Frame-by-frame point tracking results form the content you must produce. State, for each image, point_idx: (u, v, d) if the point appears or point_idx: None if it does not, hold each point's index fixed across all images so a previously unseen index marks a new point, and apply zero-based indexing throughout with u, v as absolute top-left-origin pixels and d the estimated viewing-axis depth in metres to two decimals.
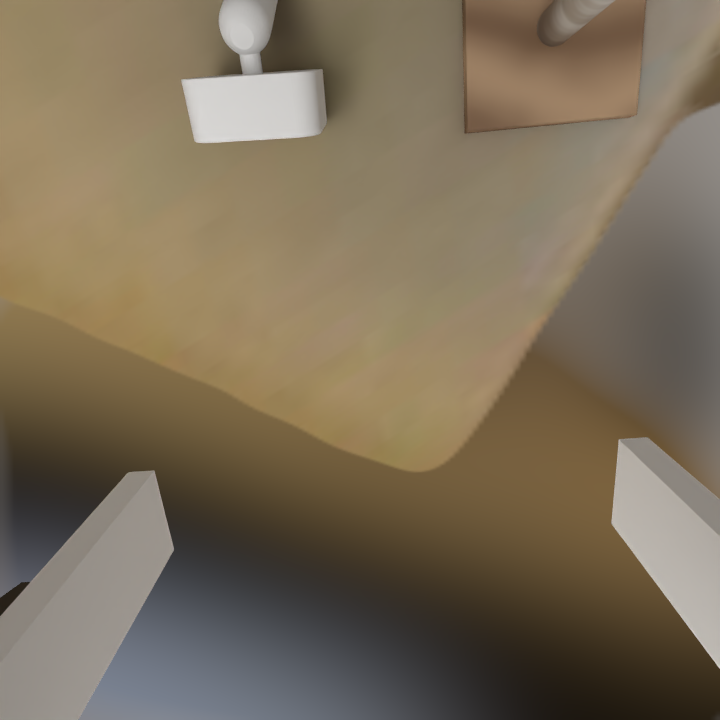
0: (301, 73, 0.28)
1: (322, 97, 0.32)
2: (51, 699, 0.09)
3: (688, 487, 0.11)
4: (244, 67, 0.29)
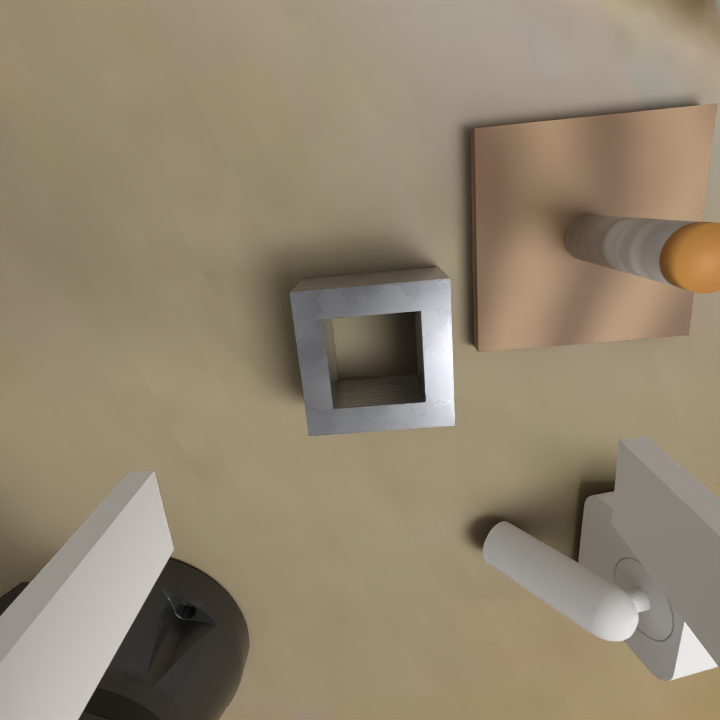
0: None
1: None
2: (51, 699, 0.09)
3: (688, 487, 0.11)
4: (642, 611, 0.27)
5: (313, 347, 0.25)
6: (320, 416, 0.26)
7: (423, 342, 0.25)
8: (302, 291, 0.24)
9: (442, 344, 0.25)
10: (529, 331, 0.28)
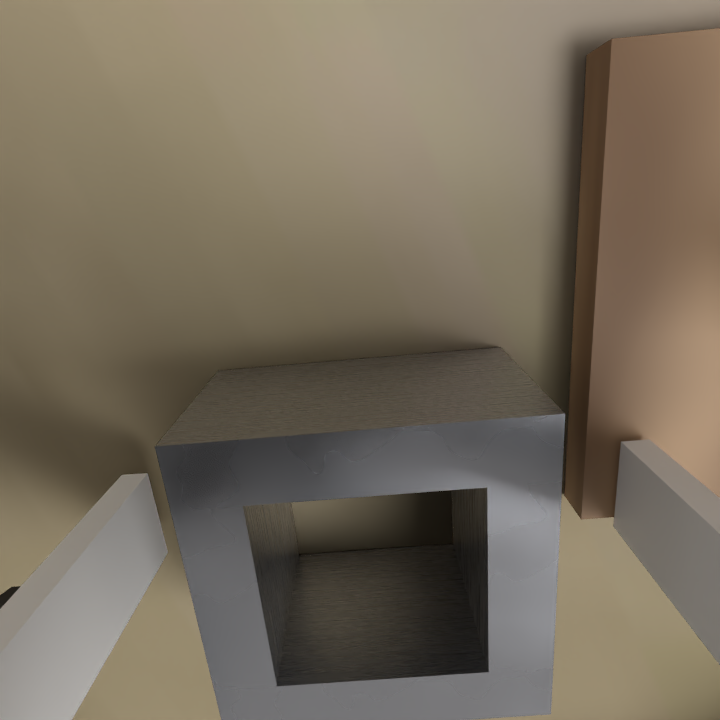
0: None
1: None
2: (40, 705, 0.09)
3: (692, 490, 0.11)
4: None
5: (222, 566, 0.10)
6: (249, 701, 0.12)
7: (490, 555, 0.10)
8: (188, 443, 0.10)
9: (535, 558, 0.10)
10: None
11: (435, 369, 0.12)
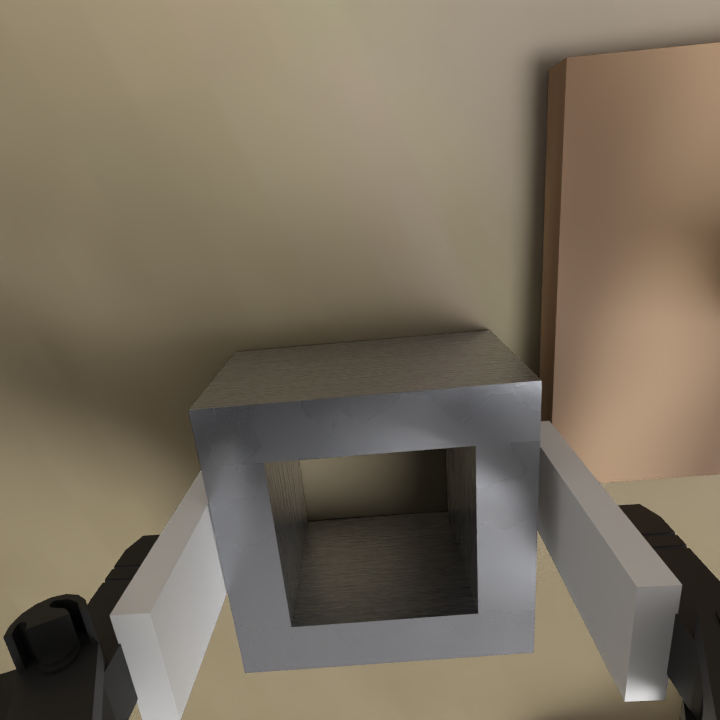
0: None
1: None
2: (189, 631, 0.10)
3: (567, 462, 0.12)
4: None
5: (245, 517, 0.12)
6: (267, 640, 0.13)
7: (478, 506, 0.12)
8: (217, 407, 0.11)
9: (517, 509, 0.12)
10: (645, 451, 0.15)
11: (431, 348, 0.14)
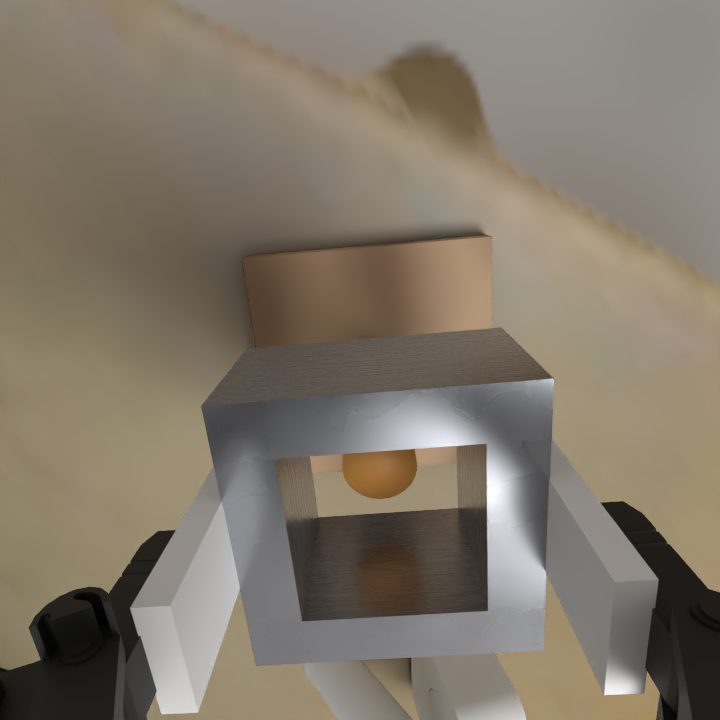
0: None
1: None
2: (206, 624, 0.10)
3: (553, 460, 0.12)
4: None
5: (256, 512, 0.12)
6: (277, 634, 0.13)
7: (489, 504, 0.12)
8: (229, 403, 0.11)
9: (528, 507, 0.12)
10: (326, 455, 0.27)
11: (442, 345, 0.14)
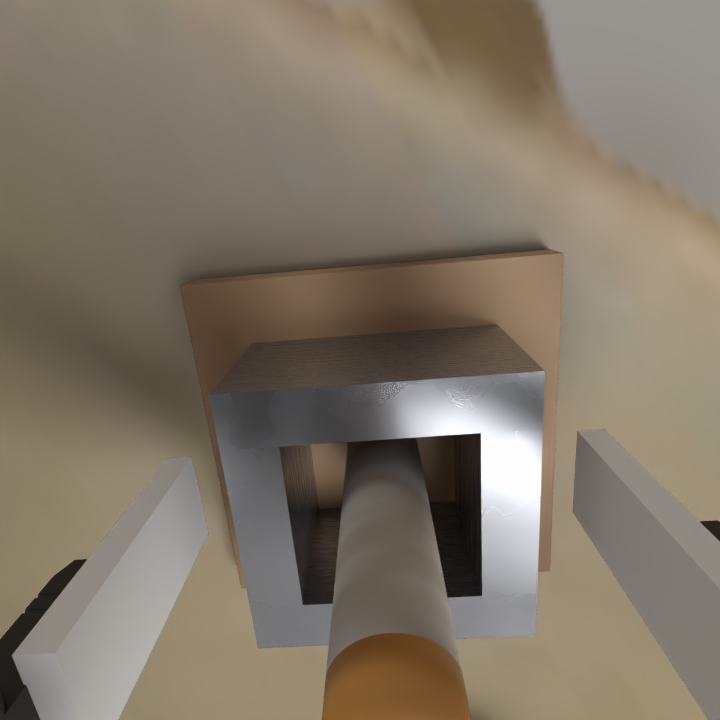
0: None
1: None
2: (112, 666, 0.10)
3: (634, 474, 0.11)
4: None
5: (260, 498, 0.13)
6: (279, 617, 0.14)
7: (483, 492, 0.12)
8: (236, 393, 0.12)
9: (521, 495, 0.12)
10: None
11: (439, 340, 0.14)
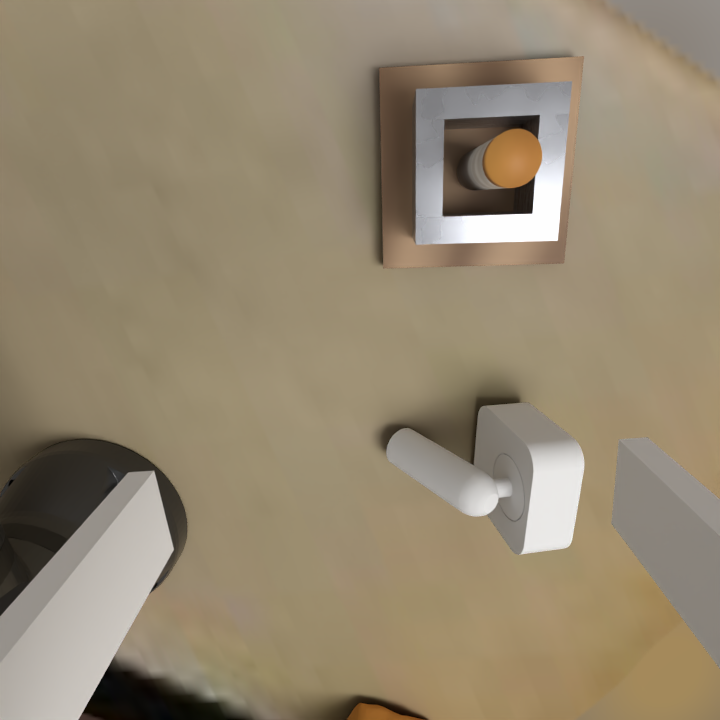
0: (534, 462, 0.29)
1: (522, 418, 0.33)
2: (51, 699, 0.09)
3: (688, 487, 0.11)
4: (505, 496, 0.32)
5: (431, 149, 0.26)
6: (429, 224, 0.28)
7: None
8: (428, 89, 0.26)
9: (556, 151, 0.26)
10: (426, 251, 0.33)
11: None
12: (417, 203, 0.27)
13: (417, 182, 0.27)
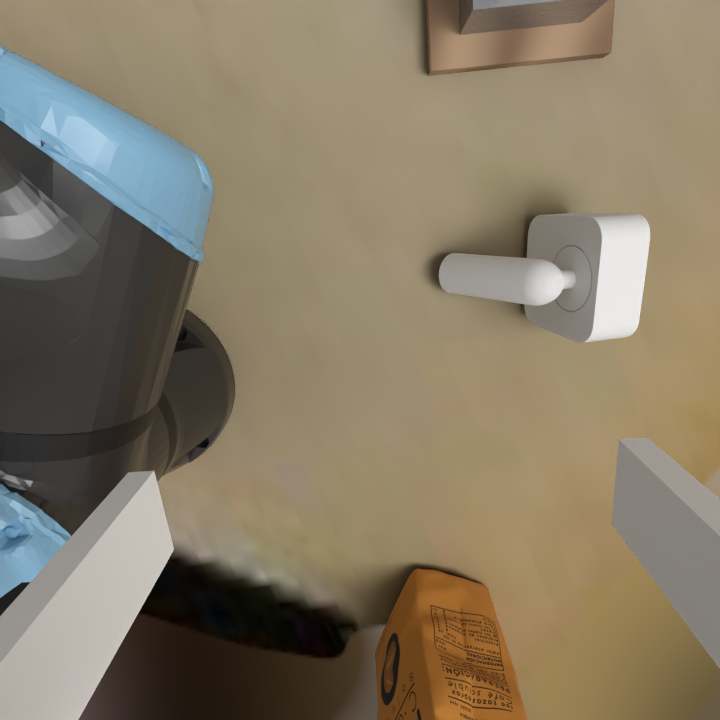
0: (601, 229, 0.29)
1: (579, 214, 0.33)
2: (51, 699, 0.09)
3: (688, 487, 0.11)
4: (569, 285, 0.32)
5: None
6: None
7: None
8: None
9: None
10: (474, 49, 0.32)
11: None
12: None
13: None
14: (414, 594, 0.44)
